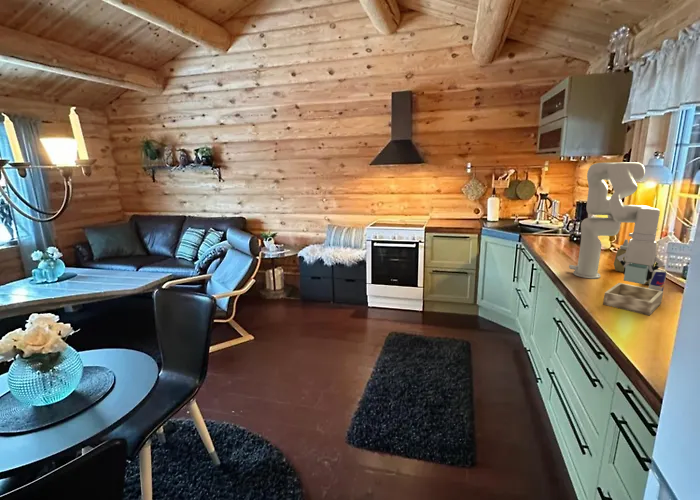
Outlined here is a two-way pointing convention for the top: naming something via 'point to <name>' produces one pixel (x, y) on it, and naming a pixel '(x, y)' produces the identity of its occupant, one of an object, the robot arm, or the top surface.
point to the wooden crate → (633, 298)
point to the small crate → (636, 273)
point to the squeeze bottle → (620, 251)
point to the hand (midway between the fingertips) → (636, 277)
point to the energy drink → (657, 280)
